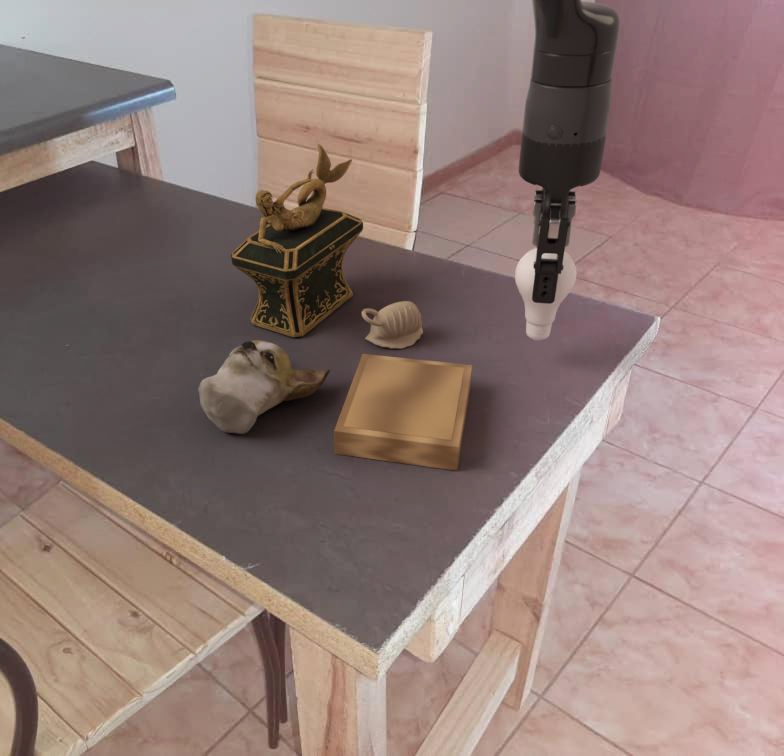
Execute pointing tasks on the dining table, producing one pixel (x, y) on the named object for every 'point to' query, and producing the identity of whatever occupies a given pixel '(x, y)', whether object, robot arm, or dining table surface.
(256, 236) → the decorative box
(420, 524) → the dining table surface
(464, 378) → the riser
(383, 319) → the decorative ornament
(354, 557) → the dining table surface
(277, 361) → the ceramic sculpture
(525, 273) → the lightbulb
